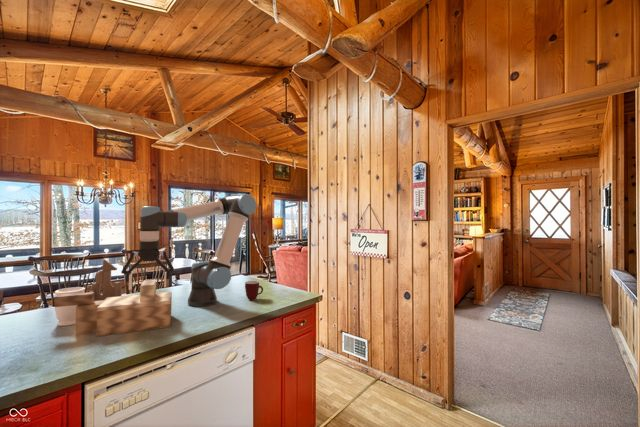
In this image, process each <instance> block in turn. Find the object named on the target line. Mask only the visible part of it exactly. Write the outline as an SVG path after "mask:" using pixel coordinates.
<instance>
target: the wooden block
mask: <svg viewBox="0 0 640 427" xmlns="http://www.w3.org/2000/svg"><path fill="white" fill-rule="evenodd" d="M94 297H95V292H90V291H89V292H84V293H73V294H61V295H56V296H54V304H53V306H54V308H55V307H62V306H73V305H84V304H92V303H93V302H94Z"/></svg>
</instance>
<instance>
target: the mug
mask: <svg viewBox="0 0 640 427" xmlns="http://www.w3.org/2000/svg"><path fill="white" fill-rule="evenodd" d="M244 287H245V288H244V289H245V293H246V294H245V295H246V298H247V299H249V301H254V299H255V300H257V297H258V296H259V295H261V294H263V292H264V287H263V286H261V285H260V282H259V281H257V280H249V281H245V283H244ZM259 289H260V290H261V291H260V290H259ZM259 291H260V292H259Z"/></svg>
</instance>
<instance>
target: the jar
mask: <svg viewBox="0 0 640 427" xmlns="http://www.w3.org/2000/svg"><path fill="white" fill-rule="evenodd" d="M85 291H86V288H85V287H83V286H82V287H81V286H73V287H65V288H60V289H57V290H55V291H54V293H55V295H56V296H57V295H61V294H73V293H85ZM76 306H78V305H73V306H62V307H54V311H55V316H56V319H57V321H58V322H57V324H56V325H57V326H59V327H65V326H71V325H75V324H76Z"/></svg>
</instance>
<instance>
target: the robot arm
mask: <svg viewBox="0 0 640 427" xmlns="http://www.w3.org/2000/svg"><path fill="white" fill-rule="evenodd" d="M257 205H258V204H257V201H256V198H255V197H254V196H252V195H251V194H248V193H241V194H230V195H227V196H225V197H221V198H216V199H215V200H214V201H210V202H209V201H208V202H205V203H200V204H195V205H188V206H184V207H178V208H174V209H168V210H164V211H163V210H161V209H160V207H159V206H152V205H151V206H149V205H144V206H141V209H140V214H139V217H140V218H139V220H140V222H139V223H140V224H139V240H140V241H139V247H138V248H139V249H138V250H139V251H131V253H130V257H129V258H128V260H127V262H126V263H125V265H124V266H123V269H122V270H121V271H120V273H121V274H124V275H125V276H126V277H125V281H126V283H128V290H129V291H130V290H132V289H133V288H132V287H133V273H132V272H133V271H134V270H135V269H136V268H137V267H138V266H139V264H140V263H141V262H146V263H147V262H154V261H155V262H156V263H157V264H158V265H159V266H160V267H161V268H162V270H164V273H163V274H164V278H163V280H164V281H163V282H164V283H163V288H166V287H167V280H169V279H170V272H173V271H174V266H173V265H172V263H171V260H170V258H169V257H168V255H167V254H168V253H167V250H163V251H160V242H159V239H160V228H184V227H185V226H186V225H187V222H189V221H193V220H198V219H202V218H207V217H210V216H214V215H215V216H216V215H219V216H223V215H228V216H229V218H228V220H227V222H226V226H225V228H224V230H223V232H222V235H221V238H220V241H219V243H218V245H217V246H218V247H217V248H216V251H215V254H214V256H213V258H210V259H209V260H206V261H197V262H193V263H192V264H191V290H190V293H189V296H188V299H187V306H191V307H206V306H211V305H214V304H216V303H217V301H218V300H217V299H218V297H217V294H216V291H215V290H222V289H224V288H225V287H227V286H228V285H229V284H230V282H231V280H232V272H231V268H232V264H231V263H230V262H231V260H232V257H233V255H234V251H235V249H236V246H237V244H238V240H239V238H240V236H241V232H242V229H243V227H244V224H245V222H246V221H249V218H250V216H251V215H253V214H255V212H256V210H257ZM159 255H161V256H162V257H163V259H164V260H165V263H166V264H167V266H168V267H167V266H166V265H165V263H163V262H162V260H161V259H160V257H159ZM137 256H138V257H139V259H138V261H136V262H135V263H134V264H133V265H132V266H131V267H130V265H131V263H132V262H133V260H134V258H135V257H137ZM129 267H130V268H129ZM128 268H129V269H128Z"/></svg>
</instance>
